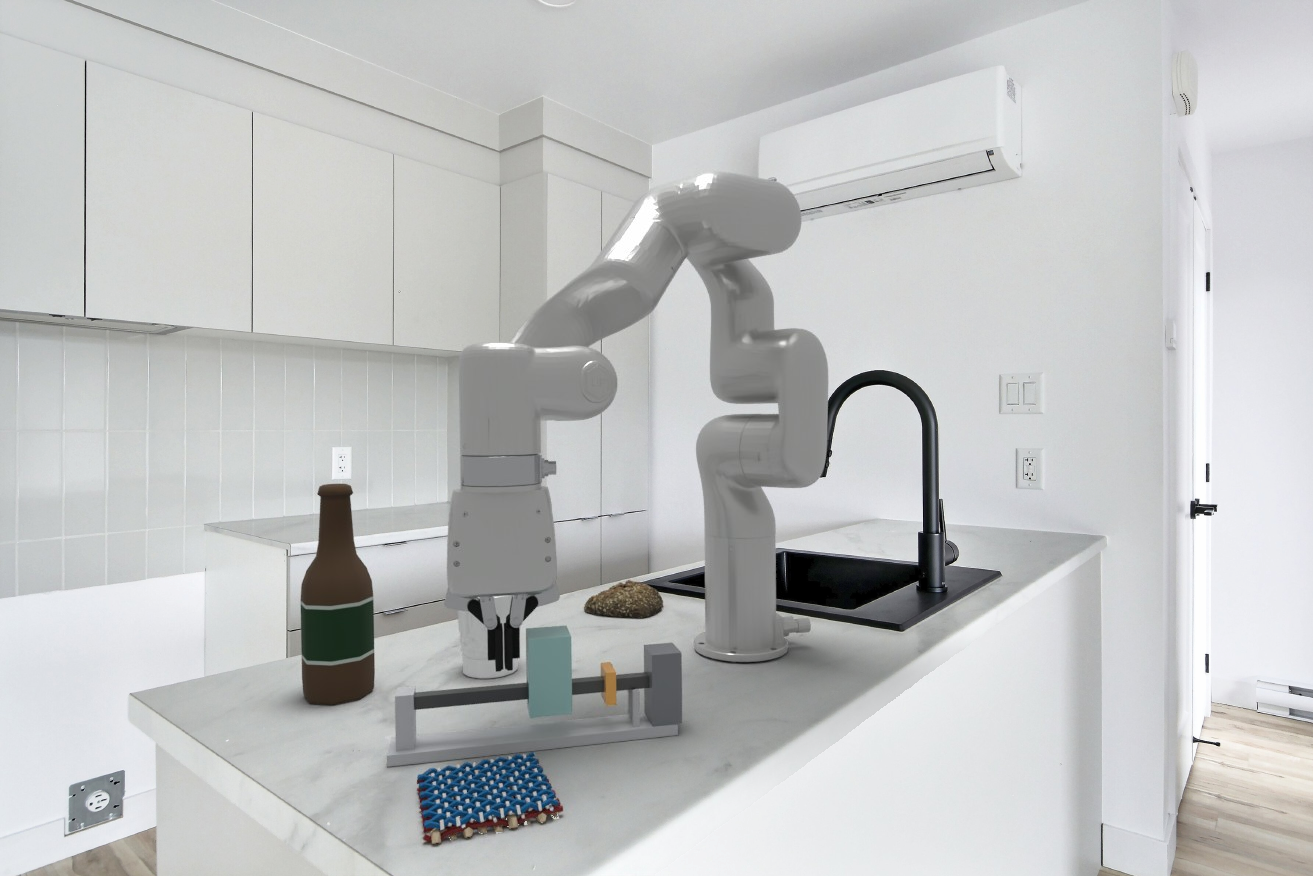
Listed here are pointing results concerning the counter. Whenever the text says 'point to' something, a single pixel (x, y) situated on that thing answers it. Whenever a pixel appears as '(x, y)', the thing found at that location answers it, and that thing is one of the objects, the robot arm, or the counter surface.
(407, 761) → the teal block rod stand
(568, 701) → the teal sliding block
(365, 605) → the beer bottle
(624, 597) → the bread roll
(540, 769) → the woven mat
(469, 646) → the white cup
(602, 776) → the counter surface
